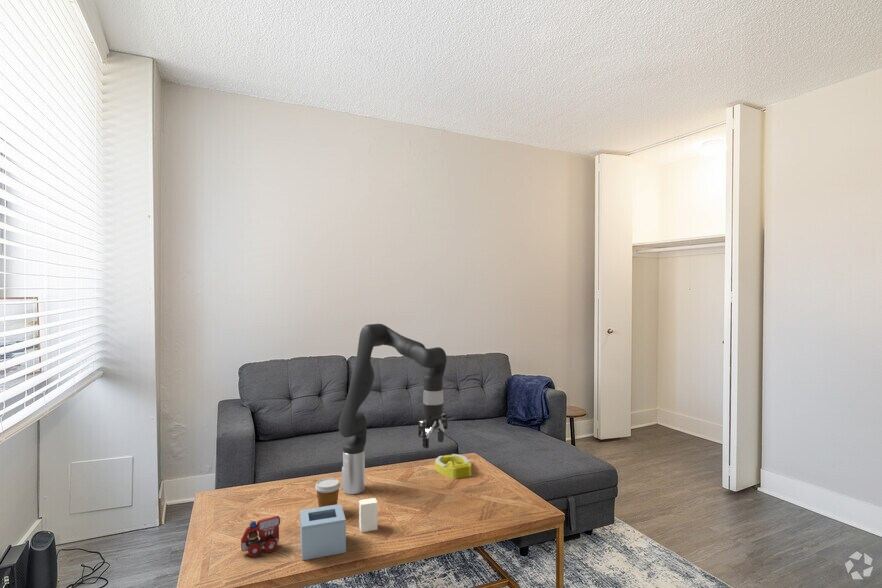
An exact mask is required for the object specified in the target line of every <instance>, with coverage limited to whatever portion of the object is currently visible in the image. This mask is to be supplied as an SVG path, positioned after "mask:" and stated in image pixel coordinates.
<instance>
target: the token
mask: <svg viewBox="0 0 882 588" xmlns="http://www.w3.org/2000/svg"><path fill="white" fill-rule="evenodd" d="M358 512H359V513H358V516H359V517H358V526H359V531H360V533H365V532H366V533H367V532H371V531H377V530H378V529H379V528H378V527H379V526H378V525H379V524H378V512H379V511H378V500H377V499H376V497H370V498H365V499H359V501H358Z"/></svg>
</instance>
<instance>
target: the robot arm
mask: <svg viewBox="0 0 882 588" xmlns="http://www.w3.org/2000/svg"><path fill="white" fill-rule="evenodd" d="M380 346H388V347H392V348H394V349H395V350H396V351H397V352H398V353H399V354H400V355H401V356H404V357H406V358H407V359H408V358H409V359H411V360H413V361H414V362H415V363H417V364H418V365H419V366H420V367H422V368H427V369H429V371H428V373H426V374H424V376H423V394H422V403H423V404H422V414H423V415H424V420H418V429H417V430H418V432H417V436H418V438H421V439H422V447H423V449H429V445H430V444H429V443H430V438H429V437H430V435H431V434H432V433H433V431H434V430H436V431H437V442H439V443H443V442H444V439H445V438H444V437H445V435H444V434H445V431H446V430H448V428H449V426H448V414H447V413H444V392H443V389H444V388H443V387H444V386H443V384H444V382H443V379H444V375H445V371H446V367H447V361H448V359H447V354H446V351H445V349H444V348H442V347H438V346H437V347H430V348H427V347H426V346H425V344H423V343H421V342H419V341H417V340H414V339H412V338H408V337H406V336H404V335H401V334H400V333H399V332H396V331H395V330H393V329H392V328H390V327H389V326H387V325H385V324H382V323H371V324H365V325H364V326H363V327H362V328H361V330H360V333H359V338H358V345H357V351H356V356H355V357H356V359H355V363H354V368H353V371H352V375H351V379H350V383H349V389H348V393H347V397H346V400H345V403H344V406H343V410H342V412H341V415H340V417H339V421H338V432H339V434H340V435H341V436H342V437H344V438H348V439H347V440H346V441H345V442H344V443H343V445H342V467H341V490H342V491H343V493H344V494H347V495H357V494H360V493H362V492H365V490H366V486H365V485H366V483H365V482H366V481H365V480H366V478H365V477H366V476H365V475H366V468H365V466H366V465H365V462H366V461H365V458H366V457H365V446H366V443H367V431H368V429H367V428H368V427H367V425H368V424H367V419H366V416H365V415H364V414H363V413H362V412H360V411H359V410H360V407H361V405H362V404H363V403H364V402H365V401H366V399H367V397H369V394H370V393H371V391H372V388H373V385H374V380H375V371H374V368H373V365H372V361H371V359H372V358H371V357H372V352H373V350H374V347H380Z"/></svg>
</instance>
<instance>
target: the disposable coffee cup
mask: <svg viewBox="0 0 882 588" xmlns="http://www.w3.org/2000/svg"><path fill="white" fill-rule="evenodd" d="M314 487H315V488H314V489H315V491H316V496H317V503H318V504H317V505H318V507H324V506H330V505H337V504H338V500H339V499H338V498H339V491H340V487H341V483H340V481H339V479H337V478H333V477H328V478H321V479H319V480H318V481H316V483H315V486H314Z"/></svg>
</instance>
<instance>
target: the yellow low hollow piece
mask: <svg viewBox="0 0 882 588" xmlns="http://www.w3.org/2000/svg"><path fill="white" fill-rule="evenodd" d="M434 468H435V471H437V473H439V474H441V475H442V476H444V477H447V478H450V479H453V480H456V479H462V478H468V477H472V463H471V461H470V460H469V459H468V458H467V456H465V455H462V454H457V453H451V454H446V455H445V454H444V455H439V456H437V457H436V459H435V460H434Z"/></svg>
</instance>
